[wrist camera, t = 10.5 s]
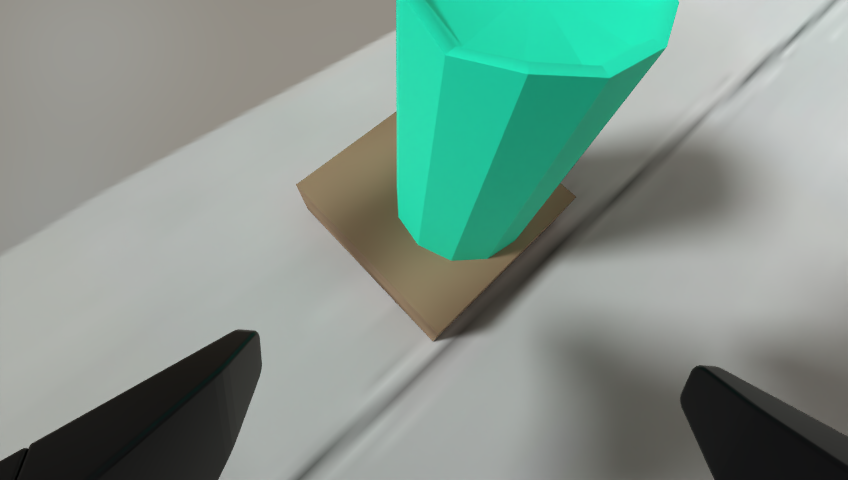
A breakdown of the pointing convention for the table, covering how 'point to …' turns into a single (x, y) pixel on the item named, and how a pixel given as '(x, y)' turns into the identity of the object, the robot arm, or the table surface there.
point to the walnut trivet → (404, 232)
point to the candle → (507, 106)
